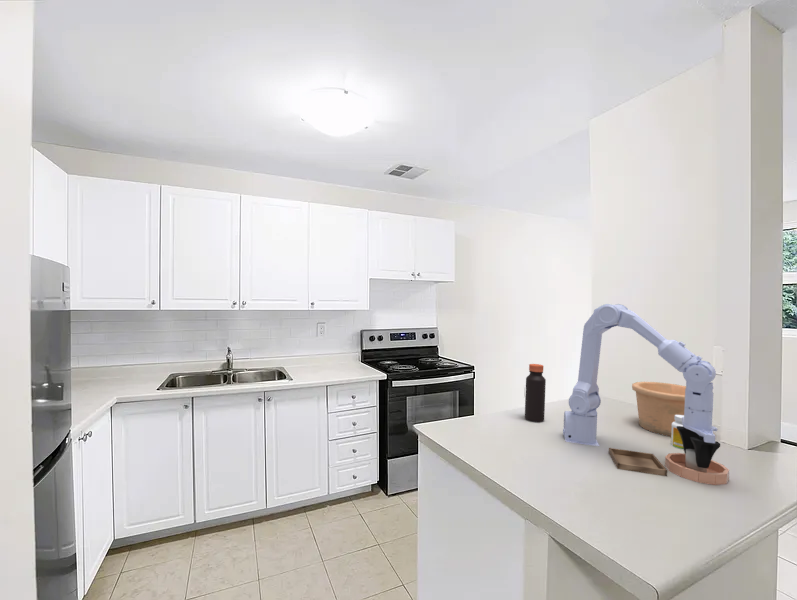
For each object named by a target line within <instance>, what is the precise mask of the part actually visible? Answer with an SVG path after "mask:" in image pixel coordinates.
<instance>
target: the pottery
mask: <svg viewBox="0 0 797 600" xmlns="http://www.w3.org/2000/svg"><path fill="white" fill-rule="evenodd" d="M631 388H632V390H633V391H634V392H635V398H636V404H637V405H636V408H637V415H638V424H639V427H641V428H642V427H643V428H642V429H644V430H646V431H648V430H649V432H651V431H652V432H651V433H654V432H655V433H654V434H657V433H659V434H658V435H661V434H663V435H662V436H666V435H667V436H666V437H671V425H672V423H673V422H675V419H674V418H675V415H684V406H685V389H686V385H680V384H675V383H668V382H660V381H659V382H658V381H639V382H638V381H637V382H633V383H631Z"/></svg>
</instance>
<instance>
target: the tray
mask: <svg viewBox="0 0 797 600" xmlns="http://www.w3.org/2000/svg"><path fill="white" fill-rule="evenodd" d="M608 454H609V456H610V458H611V460H612V461H613V463H614V465H615V467H616V468H617V470H622V471H623V470H624V471H629V472H637V473H640V474H641V473H643V474H650V475H656V476H662V477H668V469H667V468H665V467H666V466H665V465H663V464H662V462H661V461H660V460H659V459H658V458H657V456H656V455H655V454H654V453H650V452H644V451H643V452H641V451H633V450H628V449H620V448H613V447H608Z"/></svg>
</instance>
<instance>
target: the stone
mask: <svg viewBox="0 0 797 600" xmlns="http://www.w3.org/2000/svg"><path fill="white" fill-rule="evenodd" d="M685 467H686V468H689V469H693V470H696V471H701V472H707V468H701V467H698V466H697V463H696V456H695V449H686V459H685Z"/></svg>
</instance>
